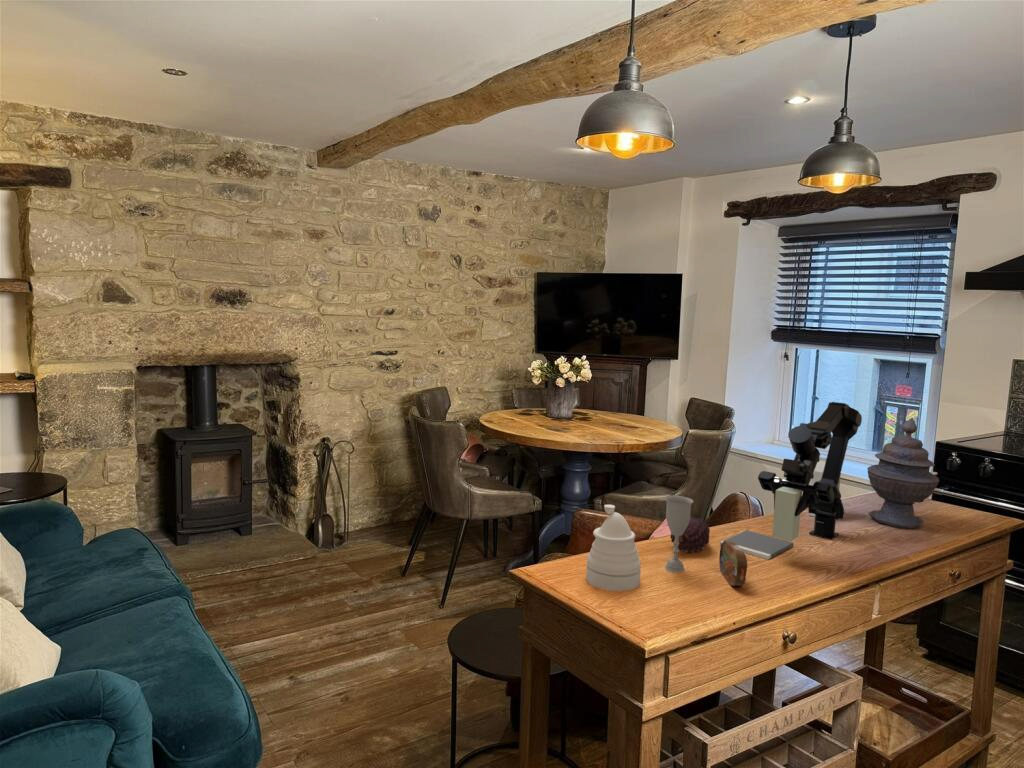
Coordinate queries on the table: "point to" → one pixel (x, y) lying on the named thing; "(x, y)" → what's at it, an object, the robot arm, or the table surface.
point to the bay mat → (759, 544)
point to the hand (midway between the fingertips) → (785, 513)
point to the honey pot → (613, 555)
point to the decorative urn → (902, 479)
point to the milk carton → (819, 474)
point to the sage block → (786, 513)
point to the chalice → (677, 526)
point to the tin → (733, 563)
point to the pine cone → (693, 536)
